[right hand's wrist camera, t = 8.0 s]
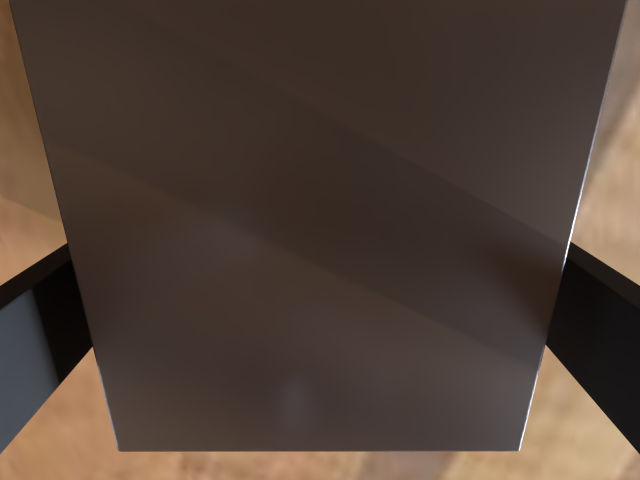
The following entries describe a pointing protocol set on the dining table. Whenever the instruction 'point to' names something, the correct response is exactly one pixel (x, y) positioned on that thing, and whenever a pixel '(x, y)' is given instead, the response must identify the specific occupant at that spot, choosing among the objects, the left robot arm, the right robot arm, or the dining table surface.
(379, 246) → the cabinet
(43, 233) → the dining table surface
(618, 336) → the right robot arm
